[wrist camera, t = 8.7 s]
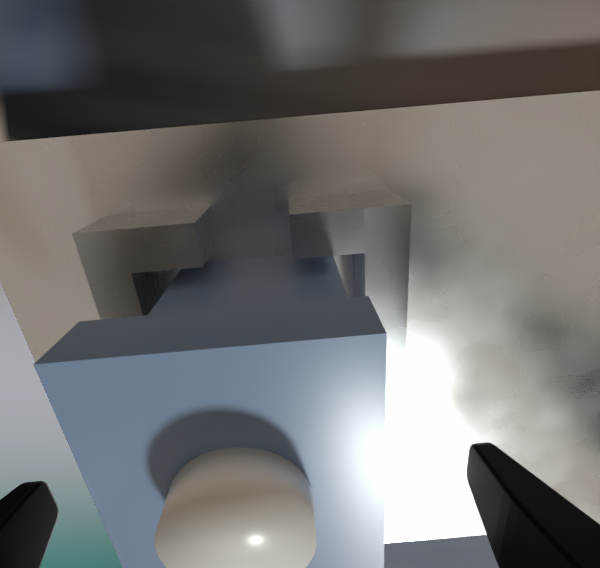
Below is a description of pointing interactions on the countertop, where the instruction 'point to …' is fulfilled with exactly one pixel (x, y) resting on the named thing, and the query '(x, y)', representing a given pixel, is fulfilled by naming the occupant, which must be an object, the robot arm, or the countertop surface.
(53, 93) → the countertop surface
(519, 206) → the chassis plate
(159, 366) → the block
